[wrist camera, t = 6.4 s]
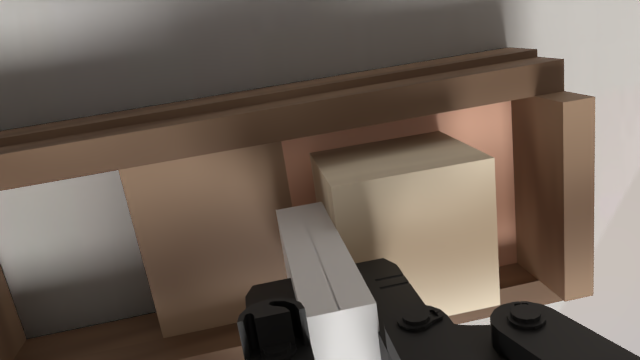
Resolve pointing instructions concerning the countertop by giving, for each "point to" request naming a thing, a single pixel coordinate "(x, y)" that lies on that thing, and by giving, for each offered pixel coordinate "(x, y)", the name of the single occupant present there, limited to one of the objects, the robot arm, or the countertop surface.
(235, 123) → the channel
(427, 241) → the birch block
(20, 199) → the countertop surface
